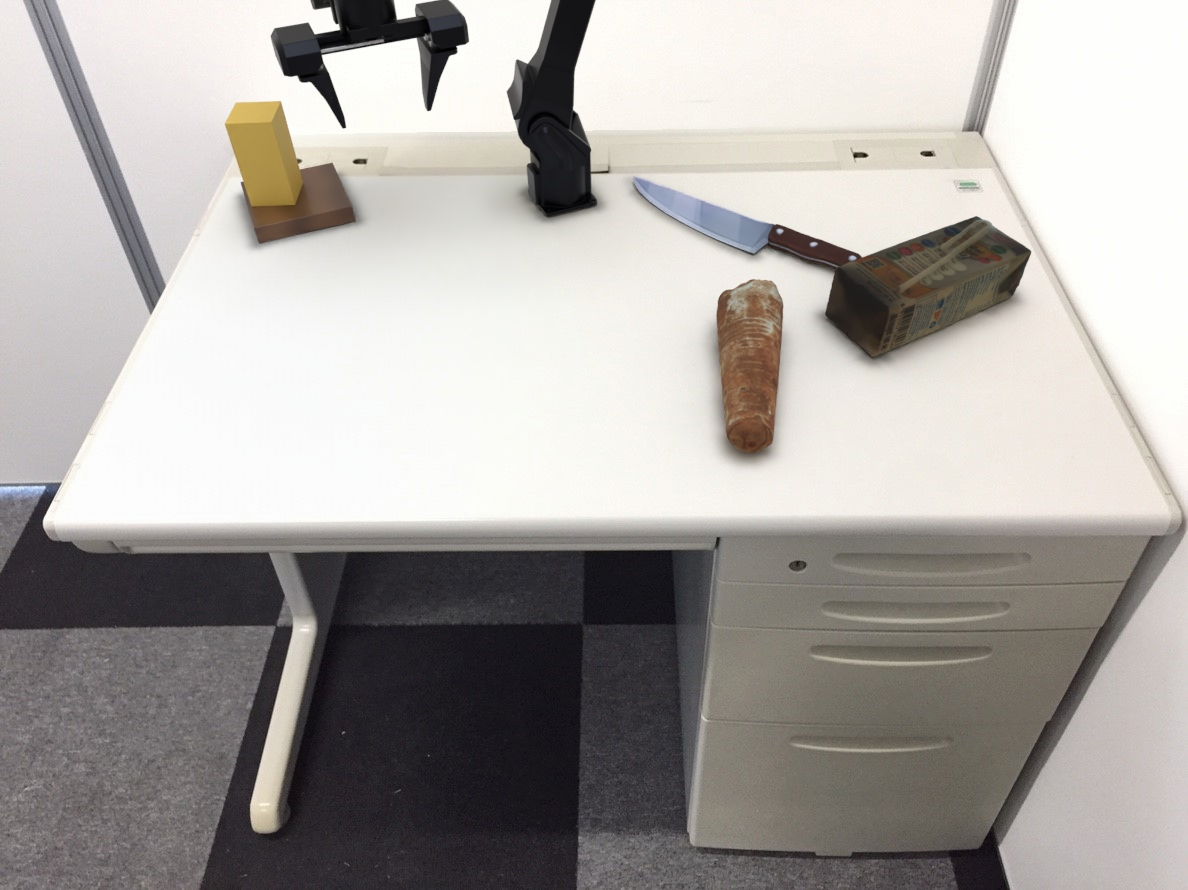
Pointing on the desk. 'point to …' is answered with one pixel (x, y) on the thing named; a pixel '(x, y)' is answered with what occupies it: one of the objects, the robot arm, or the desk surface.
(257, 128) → the butter
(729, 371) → the orange-brown tapered rod
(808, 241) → the kitchen knife
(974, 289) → the beverage carton
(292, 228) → the cutting board
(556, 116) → the robot arm
